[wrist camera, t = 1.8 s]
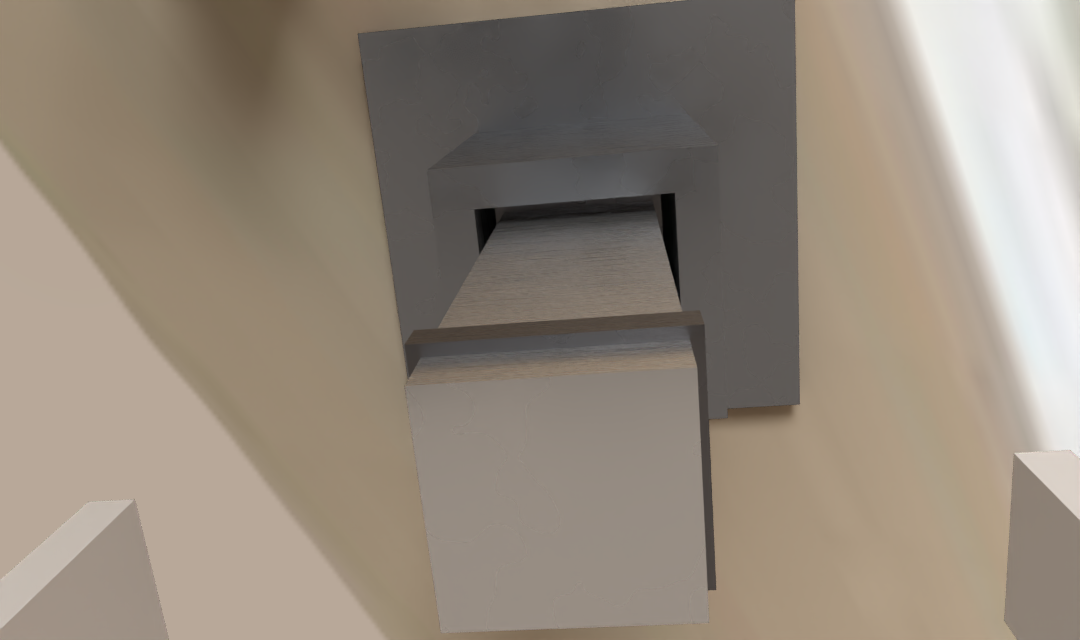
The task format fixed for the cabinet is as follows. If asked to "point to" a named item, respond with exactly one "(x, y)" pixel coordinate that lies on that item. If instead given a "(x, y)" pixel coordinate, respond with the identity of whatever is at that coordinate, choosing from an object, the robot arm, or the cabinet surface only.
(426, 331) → the column
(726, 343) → the stand base
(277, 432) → the cabinet surface
